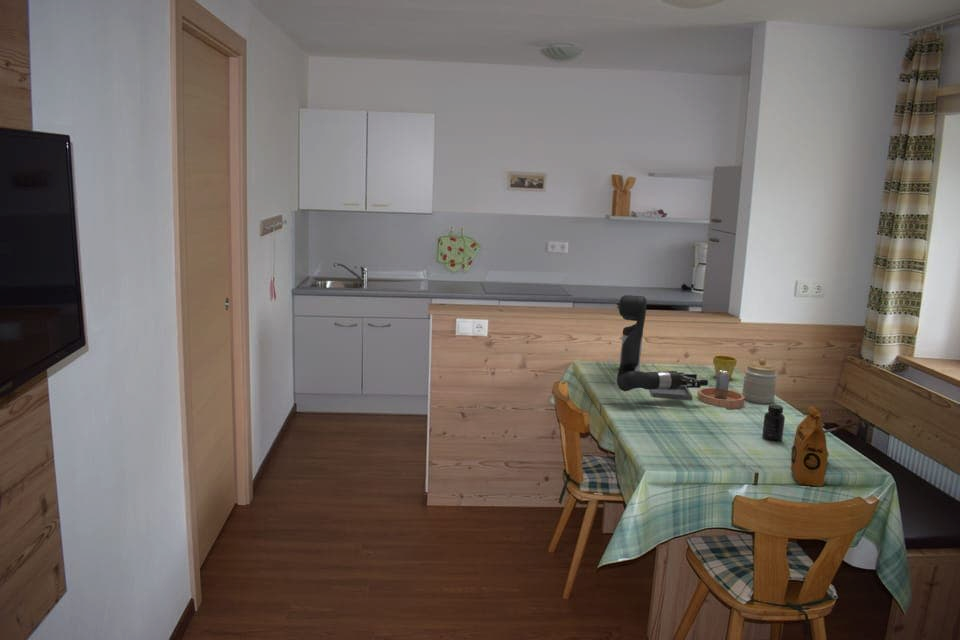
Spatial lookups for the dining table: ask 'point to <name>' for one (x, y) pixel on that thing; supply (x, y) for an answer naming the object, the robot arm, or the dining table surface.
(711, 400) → the terracotta bowl
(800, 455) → the coffee package
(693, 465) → the dining table surface
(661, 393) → the tray
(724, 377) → the silver gray cylinder
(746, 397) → the jar
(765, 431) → the supplement bottle
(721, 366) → the plant pot
